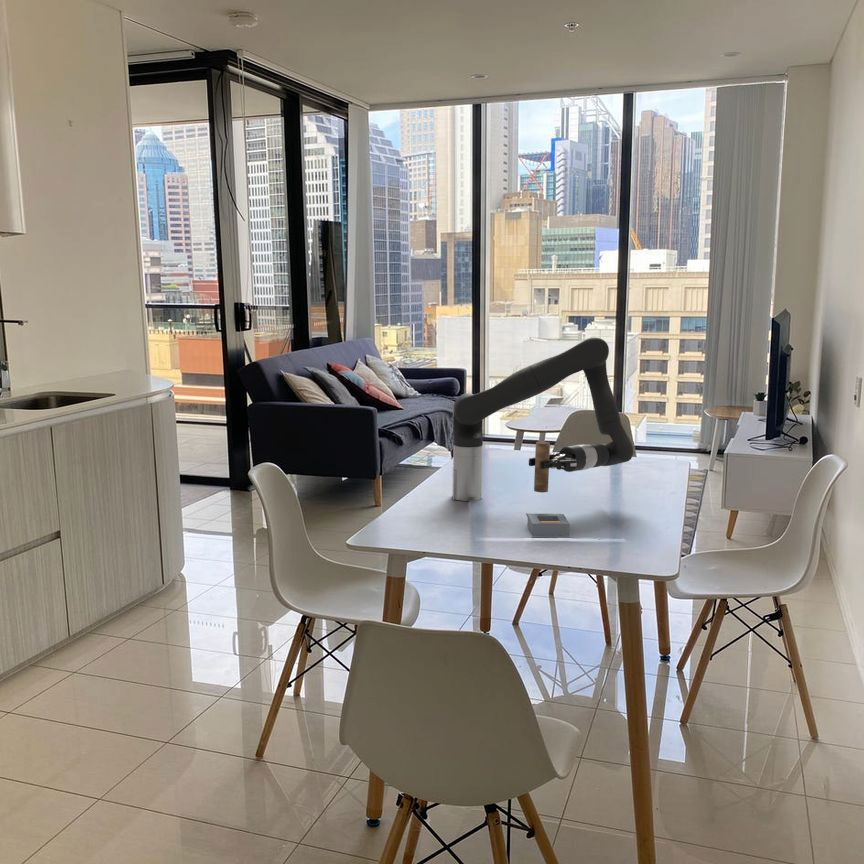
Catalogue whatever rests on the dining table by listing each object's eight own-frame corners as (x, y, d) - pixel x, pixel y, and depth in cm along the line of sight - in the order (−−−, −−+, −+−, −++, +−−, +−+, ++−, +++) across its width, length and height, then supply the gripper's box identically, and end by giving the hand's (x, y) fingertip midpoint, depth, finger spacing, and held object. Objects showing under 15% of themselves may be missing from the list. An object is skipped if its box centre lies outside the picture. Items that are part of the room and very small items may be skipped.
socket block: (531, 537, 231) (532, 522, 230) (527, 527, 241) (527, 512, 240) (569, 538, 231) (569, 522, 230) (563, 527, 241) (563, 513, 240)
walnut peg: (534, 492, 245) (536, 444, 243) (533, 488, 249) (535, 441, 247) (548, 492, 245) (550, 444, 243) (547, 489, 249) (548, 441, 247)
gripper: (561, 441, 259) (518, 446, 249) (596, 449, 248) (553, 455, 238) (560, 465, 261) (517, 472, 251) (595, 474, 249) (551, 481, 239)
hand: (535, 463), depth 244 cm, fingers closed on walnut peg, 4 cm apart
